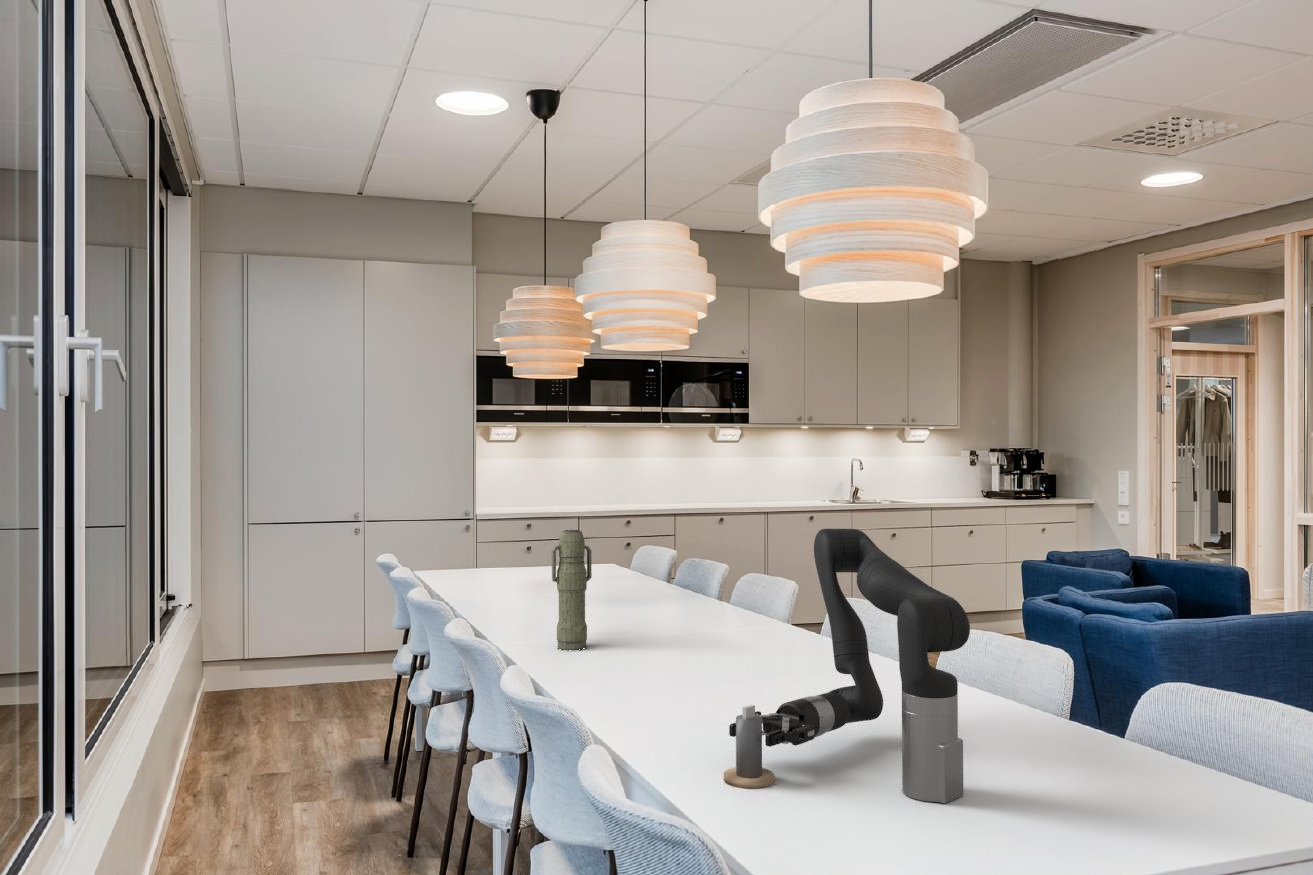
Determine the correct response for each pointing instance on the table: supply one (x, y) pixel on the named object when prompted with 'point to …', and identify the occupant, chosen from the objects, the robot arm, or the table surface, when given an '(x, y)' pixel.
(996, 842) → the table surface
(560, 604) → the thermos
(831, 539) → the robot arm
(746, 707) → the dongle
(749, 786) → the coaster
